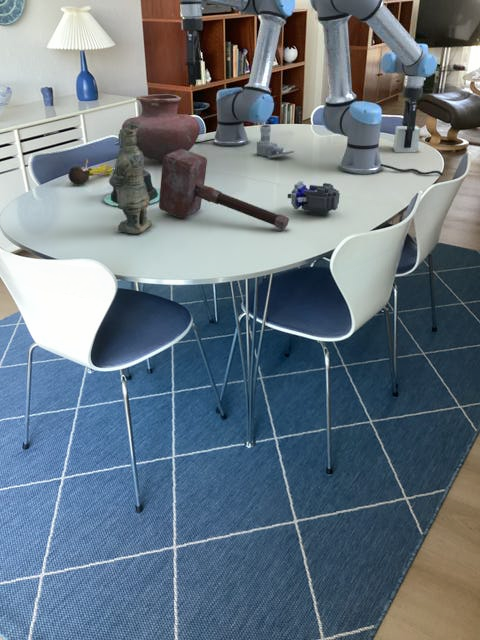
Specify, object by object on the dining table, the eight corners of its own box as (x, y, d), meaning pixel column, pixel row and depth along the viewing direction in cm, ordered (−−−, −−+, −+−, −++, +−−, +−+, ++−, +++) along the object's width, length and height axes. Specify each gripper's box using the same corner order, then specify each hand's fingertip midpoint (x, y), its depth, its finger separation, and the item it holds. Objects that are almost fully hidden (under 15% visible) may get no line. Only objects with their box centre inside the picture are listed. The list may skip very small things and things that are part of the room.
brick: (395, 152, 233) (398, 129, 228) (393, 148, 238) (396, 126, 233) (417, 152, 232) (420, 129, 227) (414, 148, 238) (417, 126, 233)
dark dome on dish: (91, 202, 180) (113, 186, 197) (142, 231, 182) (160, 212, 199) (107, 162, 172) (129, 148, 190) (160, 192, 174) (177, 176, 192)
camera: (266, 123, 231) (294, 128, 223) (265, 151, 237) (293, 157, 229) (252, 126, 226) (281, 131, 217) (252, 155, 232) (280, 162, 223)
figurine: (134, 159, 212) (83, 166, 193) (134, 179, 215) (84, 188, 196) (109, 155, 218) (58, 161, 199) (110, 174, 221) (59, 182, 202)
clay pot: (207, 152, 239) (204, 90, 226) (190, 171, 213) (185, 102, 200) (140, 150, 243) (133, 89, 231) (115, 169, 218) (106, 101, 205)
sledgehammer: (299, 190, 156) (179, 147, 167) (285, 200, 148) (161, 154, 160) (286, 244, 166) (174, 200, 177) (272, 256, 158) (156, 209, 170)
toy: (295, 178, 172) (342, 184, 166) (295, 205, 177) (340, 211, 171) (285, 186, 166) (333, 192, 160) (284, 213, 170) (331, 220, 164)
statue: (131, 220, 168) (117, 116, 152) (158, 224, 164) (147, 118, 149) (109, 233, 159) (93, 124, 144) (138, 237, 156) (124, 126, 140)
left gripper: (197, 19, 187) (200, 86, 198) (206, 16, 208) (209, 77, 219) (175, 19, 188) (179, 87, 198) (186, 17, 209) (190, 77, 220)
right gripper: (428, 90, 214) (419, 151, 226) (418, 83, 230) (410, 140, 242) (408, 90, 215) (400, 151, 226) (399, 83, 231) (393, 140, 243)
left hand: (195, 82), depth 209 cm, fingers open, 13 cm apart
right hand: (405, 145), depth 234 cm, fingers closed on brick, 6 cm apart
